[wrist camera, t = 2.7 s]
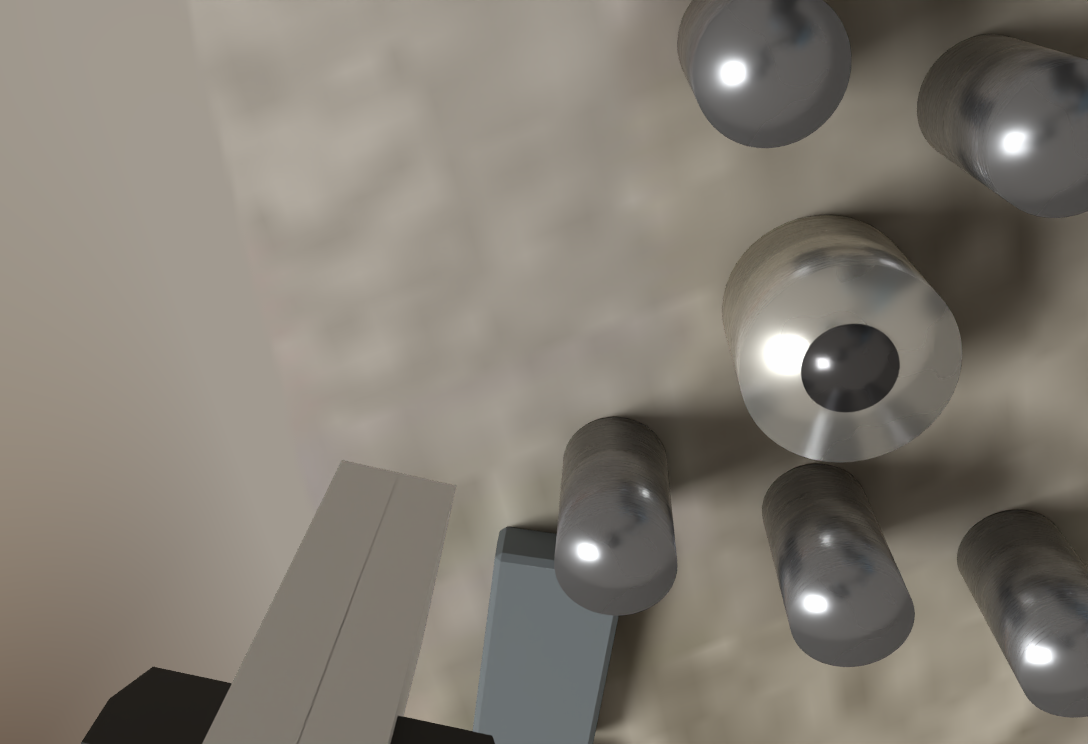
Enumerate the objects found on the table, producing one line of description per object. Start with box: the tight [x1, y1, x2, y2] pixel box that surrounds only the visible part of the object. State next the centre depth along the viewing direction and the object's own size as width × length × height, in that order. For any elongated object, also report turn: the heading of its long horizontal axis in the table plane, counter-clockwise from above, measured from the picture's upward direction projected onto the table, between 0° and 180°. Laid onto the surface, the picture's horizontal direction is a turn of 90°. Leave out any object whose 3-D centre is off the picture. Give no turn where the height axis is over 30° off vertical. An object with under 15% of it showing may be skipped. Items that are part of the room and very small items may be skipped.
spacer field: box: [554, 0, 1088, 717], centre depth 24 cm, size 15×15×5 cm
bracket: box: [473, 527, 619, 744], centre depth 31 cm, size 4×10×2 cm, turn 173°
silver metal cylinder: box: [722, 215, 962, 462], centre depth 24 cm, size 5×5×4 cm
